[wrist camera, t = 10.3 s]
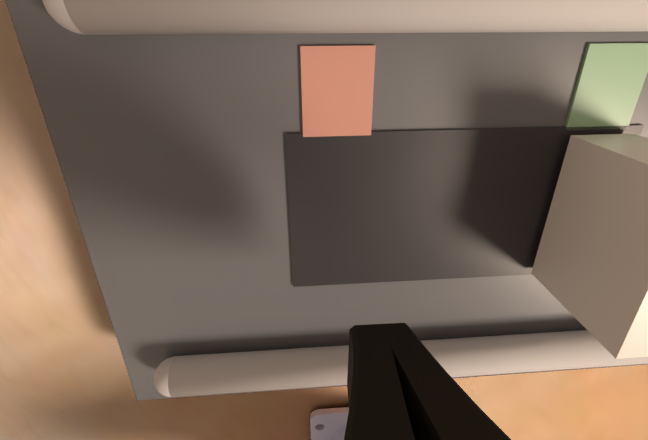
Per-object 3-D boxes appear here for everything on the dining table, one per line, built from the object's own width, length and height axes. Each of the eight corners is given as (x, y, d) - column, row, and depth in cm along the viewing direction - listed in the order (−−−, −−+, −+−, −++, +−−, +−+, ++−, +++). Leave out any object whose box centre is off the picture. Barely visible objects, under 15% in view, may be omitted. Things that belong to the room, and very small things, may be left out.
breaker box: (635, 316, 20) (691, 363, 17) (160, 345, 18) (136, 402, 15) (810, -62, 13) (957, -88, 10) (49, -72, 11) (-33, -106, 8)
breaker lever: (584, 270, 14) (685, 354, 10) (531, 273, 14) (615, 359, 10) (633, 133, 12) (785, 179, 8) (570, 135, 11) (697, 182, 8)
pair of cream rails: (674, 341, 16) (705, 367, 15) (164, 375, 15) (152, 407, 14) (874, -28, 10) (954, -36, 9) (53, -32, 9) (15, -42, 8)
